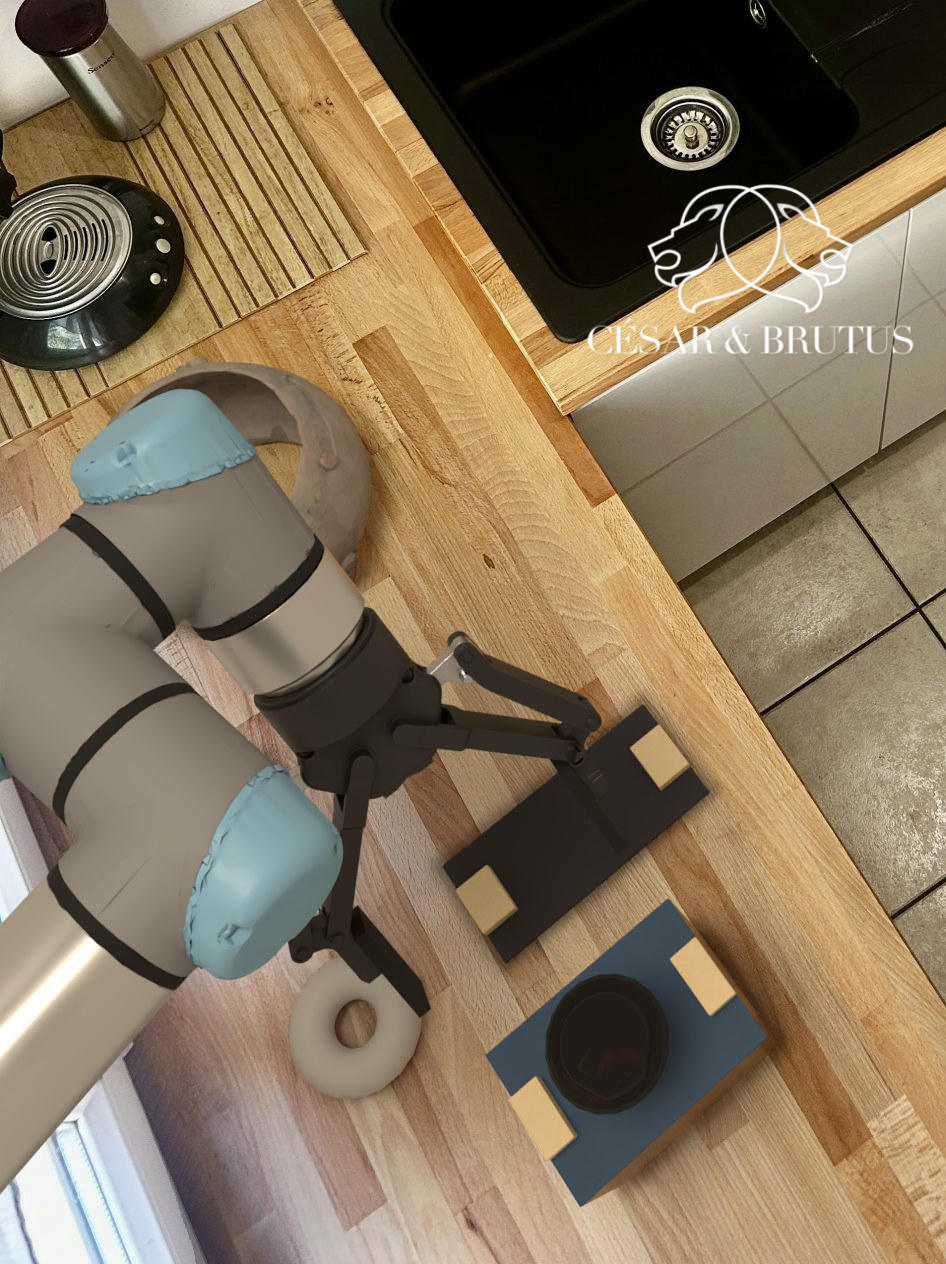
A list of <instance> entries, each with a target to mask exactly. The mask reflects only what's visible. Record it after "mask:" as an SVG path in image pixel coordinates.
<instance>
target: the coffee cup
mask: <svg viewBox="0 0 946 1264" xmlns="http://www.w3.org/2000/svg"><path fill="white" fill-rule="evenodd" d="M668 1053H669V1028H668V1024H667V1021H666V1018H665V1015H664V1011H663V1008H662V1007H661V1005H660V1004H659V1002H658V1001H657V999H656V998H655V996H654V995H653V993H652V992H651V991H650V990H649V989H647V988H646V987H645V986H643V985H642V984H641V983H639V982H638V981H637V980H635V979H632V978H629V977H626V976H623V975H620V974H601V975H596V976H593V977H591V978H588V979H586V980H584V981H581V982H579V983H578V984H577V985H576V986H574V987H573V988H572V989H571V990H570V991H569V992H567V993H566V994H565V995H564V996H563V998H562V999H561V1001H560V1002H559V1004H558V1005H557V1007H556V1008H555V1010H554V1012H553V1013H552V1016H551V1019H550V1022H549V1026H548V1029H547V1032H546V1046H545V1058H546V1061H547V1065H548V1069H549V1073H550V1076H551V1079H552V1080H553V1082H554V1084H555V1085H556V1087H557V1088H558V1090H559V1091H560V1093H561V1095H562V1096H563V1097H564V1098H566V1099H567V1100H568V1101H569V1102H571V1103H572V1104H573V1105H574V1106H576V1107H577V1108H578V1109H582V1110H585V1111H588V1112H591V1113H594V1114H597V1115H598V1114H617V1113H620V1112H622V1111H624V1110H627V1109H629V1108H631V1107H634V1106H636V1105H637V1104H638V1103H639V1102H640V1101H642V1100H643V1099H644V1098H645V1097H646V1096H647V1095H648V1094H649V1093H651V1092H652V1090H653V1089H654V1087H655V1085H656V1084H657V1082H658V1080H659V1079H660V1077H661V1075H662V1074H663V1072H664V1068H665V1064H666V1061H667V1057H668Z"/></svg>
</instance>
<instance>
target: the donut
mask: <svg viewBox="0 0 946 1264" xmlns="http://www.w3.org/2000/svg"><path fill="white" fill-rule="evenodd" d="M355 1000H362V1001H366V1002H367V1003H369V1004H370V1005H371V1007H372V1008H373V1010H374V1012H375V1015H376V1026H375V1028H374V1029H375V1030H374V1032H373V1034H372V1036H371V1037H370V1039H369V1040H368V1041H367V1042H366V1043H365V1044H364V1045H362V1046H360V1047H355V1048H350V1047H347V1046H344V1045H343V1044H342V1043H340V1040H339V1039H338V1037H337V1034H336V1030H335V1029H336V1020H337V1017H338V1014H339V1013H340V1011H341V1010H342V1008H343V1007H344V1006H346V1005H347V1004H348V1003H349V1002H352V1001H355ZM289 1017H290V1018H289V1028H288V1029H289V1030H288V1043H289V1048H290V1053H291V1054H290V1055H291V1058H292V1062H293V1063H294V1065H295V1067H296V1069H297V1070H298V1072H299V1074H300V1076H301V1077H302V1079H303V1080H304V1082H305V1083H307V1084H309V1085H310V1086H311V1087H312V1088H313V1089H315V1090H316V1091H317V1092H318V1093H320V1094H322V1095H325V1096H328V1097H331V1098H335V1099H337V1100H340V1101H341V1100H355V1099H363V1098H366V1097H368V1096H370V1095H373V1094H375V1093H378V1092H379V1091H381V1090H383V1089H385V1088H386V1087H387V1086H388V1085H389V1084H390V1083H392V1082H393V1081H394V1080H395V1079H396V1078H397V1077H398V1076H400V1075H401V1074H402V1072H403V1071H404V1069H405V1068H406V1066H407V1065H408V1063H409V1062H410V1060H411V1058H412V1057H413V1055H414V1054H415V1052H416V1047H417V1044H418V1042H419V1039H420V1036H421V1032H422V1022H423V1021H422V1019H423V1018H422V1017H423V1016H422V1017H421V1018H419V1017H418V1015H417V1014H416V1013H415V1012H414V1011H413V1010H412V1008H411V1007H410V1006H409V1005H408V1004H407V1002H406V1001H405V1000H404V999H403V998H402V997H401V995H400V994H399V993H398V992H397V991H396V990H395V988H394V987H393V986H392V985H391V984H390V982H389V981H388V980H387V979H386V978H385V977H384V975H383V974H381V975H380V976H379V977H377V978H376V979H375V980H374V981H372V982H371V983H370V984H368V983H366V982H363V981H361V980H360V979H359V977H358V976H357V975H356V974H355V973H354V972H353V971H352V969H351V968H350V967H349V966H348V965H347V964H346V962H345V961H344V960H343V959H342V958H341V957H340V956H337V957H335V958H333V959H330V960H328V961H327V962H326V963H325V964H324V965H322V966H321V967H320V968H318V969H317V970H316V971H315V972H314V973H312V974H311V975H310V977H309V979H308V980H307V981H306V983H305V984H304V986H303V987H302V989H300V991H299V993H298V995H297V997H296V1000H295V1002H294V1005H293V1007H292V1010H291V1014H290V1016H289Z"/></svg>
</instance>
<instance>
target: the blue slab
mask: <svg viewBox="0 0 946 1264" xmlns="http://www.w3.org/2000/svg"><path fill="white" fill-rule="evenodd" d="M672 903H673V902H672V900H670V899H669V898H666V899H665V900H664V901H662V903H660V904H659V905H658V906H657V907H656V908H654V909H653V911H651V912H650V913H649V914H648V915H646V917H644V918H643V919H642V920H641V921H640V922H638V923H637V924H635V926H634V927H632V928H631V929H630V930H629V931H628V932H627V933H625V934H624V935H623V936H622V937H620V939H619V940H618V941H616V942H615V943H614V944H612V945H611V947H609V948H608V949H607V950H606V951H604V952H603V953H602V954H601V955H599V956H598V958H596V959H595V960H594V961H593V962H592V963H590V965H587V967H585V969H584V970H582V971H581V972H580V973H579V974H577V976H575V977H574V978H573V979H572V980H571V981H569V982H568V983H567V984H566V985H565V986H563V987H562V989H560V990H559V991H558V992H557V993H555V994H554V995H553V996H551V998H550V999H549V1000H547V1001H546V1002H545V1003H544V1004H543V1005H542V1006H540V1007H539V1008H538V1009H537V1010H535V1012H533V1014H531V1015H530V1016H529V1017H528V1018H526V1019H525V1020H524V1021H523V1022H521V1023H520V1024H519V1025H518V1026H517V1027H515V1029H514V1030H512V1031H511V1032H510V1033H509V1034H507V1036H505V1037H504V1038H503V1039H502V1040H501V1041H500V1042H498V1043H497V1044H496V1045H495V1046H494V1047H492V1048H491V1049H490V1050H489V1051H488V1052H487V1053H485V1058H486V1059H487V1061H488V1062H489V1065H490V1066H491V1067H492V1069H493V1070H494V1072H495V1074H496V1075H497V1077H498V1079H499V1081H500V1082H501V1083H502V1085H503V1086H504V1088H505V1090H506V1091H507V1093H508V1094H509V1096H510V1097H509V1098H508V1102H509V1104H510V1105H511V1107H512V1108H513V1110H514V1113H516V1116H517V1117H518V1118H519V1121H520V1122H521V1123H522V1125H523V1127H524V1128H525V1130H526V1132H527V1133H528V1135H529V1136H530V1138H531V1139H532V1141H533V1142H534V1144H535V1146H536V1147H537V1149H538V1150H539V1152H540V1153H541V1155H542V1158H544V1160H545V1161H546V1162H548V1161H550V1162H551V1163H552V1165H553V1166H554V1168H555V1169H556V1171H557V1173H558V1174H559V1176H560V1177H561V1179H562V1181H563V1182H564V1184H565V1185H566V1187H567V1189H568V1190H569V1192H570V1194H571V1195H572V1197H573V1199H574V1200H575V1201H576V1203H577V1205H578V1206H579V1208H582V1207H584V1206H585V1205H584V1204H585V1203H586V1202H587V1201H589V1200H590V1199H591V1198H592V1197H593V1196H594V1195H595V1194H596V1193H597V1192H598V1191H600V1190H601V1189H602V1188H603V1187H604V1186H605V1185H606V1184H607V1183H608V1182H609V1181H611V1180H612V1179H613V1178H614V1177H615V1176H616V1175H617V1174H618V1173H619V1172H620V1171H622V1170H623V1169H624V1168H625V1167H626V1166H627V1165H628V1164H629V1163H630V1162H631V1161H633V1160H634V1159H635V1158H636V1157H637V1156H638V1155H639V1154H640V1153H641V1152H642V1151H644V1150H645V1149H646V1148H647V1147H648V1146H649V1145H650V1144H651V1143H652V1142H653V1141H655V1140H656V1139H657V1138H658V1137H659V1136H660V1135H661V1134H662V1133H663V1132H664V1131H666V1130H667V1129H668V1128H669V1127H670V1126H671V1125H672V1124H673V1123H674V1122H675V1121H677V1120H678V1119H679V1118H680V1117H681V1116H682V1115H683V1114H684V1113H685V1112H686V1111H688V1110H689V1109H690V1108H691V1107H692V1106H693V1105H694V1104H695V1103H696V1102H697V1101H699V1100H700V1099H701V1098H702V1097H703V1096H704V1095H705V1094H706V1093H707V1092H708V1091H710V1090H711V1089H712V1088H713V1087H714V1086H715V1085H716V1084H717V1083H718V1082H719V1081H720V1080H722V1079H723V1078H724V1077H725V1076H726V1075H727V1074H728V1073H729V1072H730V1071H731V1070H733V1069H734V1068H735V1067H736V1066H737V1065H738V1064H739V1063H740V1062H741V1061H742V1060H744V1059H745V1058H746V1057H747V1056H748V1055H749V1054H750V1053H751V1052H752V1051H753V1050H755V1049H756V1048H757V1047H758V1046H759V1045H760V1044H761V1043H762V1042H763V1041H764V1040H766V1039H767V1035H766V1034H765V1032H764V1031H763V1030H762V1028H761V1027H760V1025H759V1024H758V1023H757V1021H756V1020H755V1018H754V1017H753V1016H752V1014H751V1013H750V1011H749V1010H748V1009H747V1007H746V1006H745V1004H744V1003H743V1002H742V1000H741V999H740V997H739V996H738V995H737V993H736V992H735V990H734V989H733V988H732V986H731V985H730V983H729V982H728V981H727V979H726V978H725V976H724V975H723V974H722V972H721V971H720V970H719V968H718V967H717V965H716V964H715V963H714V961H713V960H712V958H711V957H710V956H709V954H708V953H707V951H706V950H705V949H704V947H703V946H702V944H701V943H700V942H699V940H698V939H697V937H696V936H695V935H694V933H693V932H692V930H691V929H690V928H689V926H688V925H687V923H686V922H685V921H684V919H683V918H682V916H681V915H680V914H679V912H678V911H677V909H676V908H675V907H674V905H675V904H674V903H673V904H674V905H673V904H672ZM601 974H620V975H623V976H626V977H629V978H632V979H635V980H637V981H638V982H639V983H641V984H642V985H643V986H645V987H646V988H647V989H649V990H650V991H651V992H652V993H653V995H654V996H655V998H656V999H657V1001H658V1002H659V1004H660V1005H661V1007H662V1008H663V1011H664V1015H665V1018H666V1021H667V1024H668V1028H669V1053H668V1057H667V1061H666V1064H665V1068H664V1072H663V1074H662V1075H661V1077H660V1079H659V1080H658V1082H657V1084H656V1085H655V1087H654V1089H653V1090H652V1092H651V1093H649V1094H648V1095H647V1096H646V1097H645V1098H644V1099H643V1100H642V1101H640V1102H639V1103H638V1104H637V1105H636V1106H634V1107H631V1108H629V1109H627V1110H624V1111H622V1112H620V1113H617V1114H598V1115H597V1114H594V1113H591V1112H588V1111H585V1110H582V1109H578V1108H577V1107H576V1106H574V1105H573V1104H572V1103H571V1102H569V1101H568V1100H567V1099H566V1098H564V1097H563V1096H562V1095H561V1093H560V1091H559V1090H558V1088H557V1087H556V1085H555V1084H554V1082H553V1080H552V1079H551V1076H550V1073H549V1069H548V1065H547V1061H546V1058H545V1046H546V1032H547V1029H548V1026H549V1022H550V1019H551V1016H552V1013H553V1012H554V1010H555V1008H556V1007H557V1005H558V1004H559V1002H560V1001H561V999H562V998H563V996H564V995H565V994H566V993H567V992H569V991H570V990H571V989H572V988H573V987H574V986H576V985H577V984H578V983H579V982H581V981H584V980H586V979H588V978H591V977H593V976H596V975H601ZM583 1205H584V1206H583Z"/></svg>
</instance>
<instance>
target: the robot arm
mask: <svg viewBox="0 0 946 1264" xmlns="http://www.w3.org/2000/svg"><path fill="white" fill-rule="evenodd" d="M106 426H107V425H106ZM106 426H105V427H104V428H103V429H101V430H100V431H99V432H98V433H97V435H96V437H94V439H93V440H91V441H90V442H88V443H86V445H84V446H83V447H82V448H81V449H80V450H79V451H78V453H77V454H76V455H75V457H74V458H73V460H72V462H71V465H70V469H69V476H70V479H71V481H72V483H73V484H74V486H75V487H76V489H77V490H78V497H79V498H80V500H81V501H82V502H83V503H81V504H80V505H79V506H78V507H76V509H74V510H73V511H72V512H71V513H70V515H69V517H68V518H67V519H66V520H65V521H63V522H62V523H61V524H59V526H58V528H57V529H56V530H54V532H52V533H51V534H49V535H48V536H47V537H45V538H44V539H43V540H41V541H40V542H39V543H37V544H36V545H34V546H33V547H31V549H29V550H27V552H25V553H24V554H22V555H21V556H20V557H19V558H17V559H15V561H13V562H12V563H11V564H9V565H8V566H6V567H5V568H4V569H2V570H1V571H0V783H1V782H4V781H5V780H10V779H12V778H13V777H15V778H16V779H17V780H18V781H19V782H20V783H21V784H22V785H23V786H24V787H25V788H26V789H28V791H29V792H31V793H32V794H33V796H35V797H36V798H37V799H38V800H39V801H40V802H41V803H42V804H43V805H44V806H45V807H46V808H48V809H49V810H50V811H51V812H52V813H53V814H54V815H55V816H56V817H57V818H58V819H59V820H60V821H61V822H62V824H63V825H64V826H65V827H66V828H67V829H68V830H69V831H70V832H71V833H72V834H73V835H74V836H75V838H76V839H77V840H76V841H75V842H74V843H73V844H72V845H71V846H70V848H69V849H67V851H66V852H65V853H64V855H63V856H62V857H61V858H60V859H59V860H58V861H57V863H56V864H55V865H54V867H53V868H52V869H51V870H50V871H49V872H48V873H47V874H46V875H45V876H44V877H43V878H42V879H41V880H40V881H39V883H38V884H37V885H36V886H35V887H33V889H32V890H31V891H30V892H29V893H28V894H27V895H26V896H25V897H24V899H22V901H21V902H20V903H19V904H18V905H17V906H16V907H15V908H14V909H13V910H12V911H11V913H9V914H8V916H7V917H6V918H5V919H4V920H3V921H2V922H1V923H0V1195H2V1193H3V1192H4V1191H5V1190H6V1188H7V1187H8V1186H9V1185H10V1184H11V1183H12V1182H13V1180H15V1178H16V1177H17V1176H18V1175H19V1173H20V1172H21V1171H22V1170H23V1169H24V1168H25V1167H26V1166H27V1164H28V1163H29V1162H30V1160H32V1158H33V1157H34V1156H35V1155H36V1154H37V1153H38V1151H39V1150H40V1149H41V1148H42V1147H43V1146H44V1144H45V1143H46V1142H47V1141H48V1140H49V1139H50V1138H51V1136H52V1135H53V1134H54V1133H55V1131H56V1130H57V1129H58V1128H59V1127H60V1126H61V1125H62V1123H63V1122H64V1121H65V1120H66V1119H67V1118H68V1116H69V1115H70V1114H71V1113H72V1112H73V1111H74V1109H76V1107H77V1106H78V1105H79V1104H80V1103H81V1101H82V1100H83V1099H84V1098H85V1097H86V1096H87V1094H88V1093H89V1092H90V1091H91V1090H92V1088H93V1087H94V1086H95V1085H96V1084H97V1083H98V1082H99V1080H100V1079H101V1078H102V1077H103V1076H104V1074H105V1073H106V1072H107V1071H108V1070H109V1069H110V1067H112V1065H113V1064H114V1063H115V1062H116V1060H117V1059H118V1058H119V1057H120V1056H121V1055H122V1054H123V1052H124V1051H125V1050H126V1049H127V1048H128V1047H129V1045H130V1044H131V1043H132V1042H133V1041H134V1040H135V1038H137V1036H138V1035H139V1034H140V1033H141V1032H142V1030H143V1029H144V1028H145V1027H146V1026H147V1025H148V1024H149V1022H150V1021H151V1020H152V1019H153V1017H155V1016H156V1014H157V1013H158V1012H159V1011H160V1010H161V1009H162V1008H163V1006H164V1005H165V1003H167V1002H168V1000H169V999H170V998H171V997H172V995H173V994H174V993H175V992H176V991H177V990H178V989H179V987H180V986H181V985H182V984H183V983H184V982H185V981H186V980H187V978H188V977H189V976H190V975H191V974H192V973H193V972H194V971H195V970H197V968H199V969H200V970H203V969H205V971H207V972H208V973H209V974H210V975H211V976H212V977H214V978H215V979H219V980H224V981H234V980H238V979H242V978H245V977H246V976H248V975H251V974H253V973H254V972H256V971H257V970H259V969H261V968H262V967H264V966H265V965H266V964H268V963H269V962H270V961H271V960H272V959H274V957H276V956H277V954H278V953H279V952H280V950H281V949H282V948H283V947H284V946H285V945H286V944H287V946H288V951H289V956H290V958H291V961H292V962H293V963H295V964H298V965H299V964H305V963H307V962H308V961H310V959H312V957H313V955H314V954H316V953H318V952H320V951H323V950H333V951H335V952H336V953H337V954H338V955H339V957H341V958H342V959H343V960H344V961H345V962H346V964H347V965H348V966H349V967H350V968H351V969H352V971H353V972H354V973H355V974H356V975H357V976H358V977H359V979H360V980H361V981H363V982H366V983H368V984H370V983H371V982H372V981H374V980H375V979H376V978H377V977H379V976H380V975H381V974H383V975H384V977H385V978H386V979H387V980H388V981H389V982H390V984H391V985H392V986H393V987H394V988H395V990H396V991H397V992H398V993H399V994H400V995H401V997H402V998H403V999H404V1000H405V1001H406V1002H407V1004H408V1005H409V1006H410V1007H411V1008H412V1010H413V1011H414V1012H415V1013H416V1014H417V1015H418V1017H419V1018H421V1017H424V1016H425V1015H426V1014H427V1013H428V1012H430V1011H431V1010H432V1007H431V1004H430V1002H429V999H428V998H429V997H428V996H427V993H426V990H425V986H424V984H423V981H422V980H421V979H420V977H419V976H418V975H417V974H416V973H415V971H414V970H413V969H412V968H411V967H410V966H409V964H408V963H407V962H406V960H404V958H403V957H402V956H401V955H400V953H399V952H398V951H397V950H396V948H394V946H393V945H392V944H391V943H390V941H389V940H388V939H387V938H386V937H385V936H384V935H383V933H382V932H381V931H380V929H379V928H378V927H377V926H376V925H375V924H374V923H373V921H372V920H371V918H369V917H368V915H367V914H366V912H365V911H364V910H363V909H362V908H361V907H360V906H359V905H358V904H357V905H356V906H354V903H355V895H356V887H357V882H358V881H357V880H358V873H359V865H360V859H361V858H360V856H361V849H362V843H363V835H364V829H365V828H366V826H367V821H368V813H369V812H368V811H369V804H370V800H375V799H380V798H382V797H383V798H384V799H385V800H386V799H388V798H389V797H391V796H392V795H394V793H396V792H397V791H398V790H399V789H400V788H401V787H402V785H403V784H404V783H405V782H406V780H408V778H410V777H412V776H415V775H416V774H419V773H421V772H423V771H424V770H426V769H427V768H428V767H429V766H430V765H432V764H434V760H433V758H434V757H435V755H436V753H437V751H438V750H443V751H451V752H464V751H465V750H474V751H480V752H490V753H497V754H505V755H513V756H520V757H521V756H522V757H530V758H535V759H536V758H537V759H545V760H549V761H550V763H551V765H552V766H553V767H554V769H555V770H556V773H558V774H559V775H560V777H561V778H562V779H563V781H564V782H565V783H566V785H567V786H568V788H569V789H570V790H571V792H572V793H573V794H574V796H575V797H576V798H577V800H578V801H579V803H580V804H581V805H582V807H583V808H584V809H585V811H586V812H587V813H588V815H589V816H590V817H591V819H592V820H593V822H594V823H595V824H596V826H597V827H598V828H599V830H600V831H601V832H602V834H603V835H604V836H605V838H606V839H607V841H608V842H609V843H610V845H611V846H612V847H613V849H614V850H615V851H616V853H617V854H619V853H621V852H622V851H623V850H624V849H625V848H627V847H628V845H627V843H626V842H625V840H624V839H623V837H622V836H621V834H620V833H619V831H618V830H617V828H616V827H615V825H614V824H613V822H612V821H611V820H610V818H609V817H608V816H607V814H606V813H605V811H604V810H603V809H602V807H601V806H600V805H599V803H598V802H597V801H596V799H598V798H599V797H600V796H601V795H602V794H604V793H605V792H606V791H607V790H609V788H608V783H607V780H606V779H605V777H604V776H603V774H602V773H601V772H600V770H599V769H598V767H597V766H596V765H595V763H594V762H593V760H592V759H591V758H590V756H589V755H588V754H587V752H586V751H585V750H586V741H587V739H588V738H589V736H590V735H591V734H592V733H595V732H597V731H598V730H599V729H600V728H601V726H602V724H603V720H602V717H601V715H600V714H599V712H598V711H597V710H596V708H595V707H594V706H593V705H592V702H590V700H589V699H588V698H587V697H586V696H584V695H582V694H580V693H578V692H576V691H573V690H570V689H568V688H566V687H564V686H562V685H559V684H557V683H554V682H553V681H551V680H547V679H545V678H543V677H541V676H539V675H536V674H534V673H532V672H529V671H528V670H525V669H522V668H520V667H518V666H515V665H513V664H511V663H509V662H507V661H504V660H502V659H500V658H497V657H495V656H492V655H490V654H488V653H485V652H484V650H483V649H481V647H479V646H478V644H477V643H476V642H475V641H474V640H473V639H472V638H471V637H470V635H468V634H467V633H466V632H465V631H463V630H457V631H454V632H452V633H450V634H449V636H448V637H447V640H446V644H447V648H446V649H445V650H444V651H443V652H442V653H440V655H439V656H438V657H436V658H435V659H434V660H433V661H432V662H431V663H430V664H429V665H428V666H424V665H421V664H419V663H417V662H416V661H414V660H413V659H412V658H411V657H410V655H409V654H408V652H407V651H406V650H405V648H404V647H403V646H402V644H401V643H400V642H399V641H398V639H397V638H396V637H395V636H394V634H393V633H392V631H391V630H390V629H389V628H388V626H387V625H386V624H385V622H384V621H383V620H382V618H381V617H380V616H379V615H378V613H377V611H375V609H373V608H372V607H369V606H365V602H366V601H365V600H366V599H365V597H364V595H363V594H362V592H361V591H360V589H359V588H358V587H357V585H356V584H355V583H354V581H353V579H351V577H350V576H348V575H347V574H346V572H345V571H344V570H343V568H342V567H341V566H340V564H339V563H338V562H337V560H336V559H335V558H334V556H333V555H332V554H331V552H330V551H329V550H328V548H327V547H326V546H325V544H323V543H322V542H321V541H320V540H319V538H318V537H317V536H316V535H315V533H314V532H313V531H312V529H310V527H309V526H308V524H307V523H306V522H305V520H304V519H303V518H302V516H301V515H300V513H299V512H298V511H297V509H296V508H295V506H294V505H293V504H292V502H291V501H290V499H289V497H288V495H287V494H286V492H285V491H284V489H282V487H281V485H280V484H279V483H278V481H277V480H276V479H275V477H274V476H273V475H272V473H271V471H270V470H269V469H268V467H267V466H266V465H265V463H264V462H263V461H262V459H261V458H260V456H259V455H258V454H257V451H258V450H257V449H256V447H255V445H252V444H250V443H248V442H247V440H246V439H245V438H244V437H243V436H242V435H241V434H240V432H239V431H238V430H237V429H236V428H235V427H234V425H233V424H232V423H231V422H230V421H229V420H228V419H227V417H226V416H225V415H224V414H223V413H222V412H221V411H220V409H219V408H218V407H217V406H216V405H215V404H214V403H213V402H212V400H211V399H210V398H209V397H207V396H206V395H205V394H203V393H201V392H199V391H196V390H191V389H176V390H172V391H168V392H165V393H163V394H160V395H158V396H156V397H154V398H151V399H149V400H148V401H146V402H144V403H142V404H140V405H138V406H137V407H135V408H133V409H132V410H130V411H129V412H127V413H126V414H124V415H123V416H121V417H119V418H118V419H117V420H115V421H114V422H113V423H111V424H110V425H108V426H107V427H106ZM184 619H185V620H186V621H187V622H188V623H189V624H190V625H191V627H192V628H191V629H192V630H193V631H194V632H195V634H196V635H197V636H198V638H199V639H200V640H201V642H202V643H203V645H205V647H206V648H207V649H208V650H209V651H210V652H211V654H212V655H213V657H214V658H215V659H216V660H217V661H218V662H219V664H220V665H221V666H222V667H223V669H224V670H225V671H226V672H227V674H228V675H229V676H230V677H231V678H232V680H233V681H234V682H235V683H236V684H237V685H238V687H239V689H241V690H242V692H243V693H246V694H247V695H253V704H254V706H255V707H256V709H257V710H258V711H259V712H260V713H261V715H262V716H263V717H264V718H265V719H266V721H267V722H268V723H269V725H270V726H271V727H272V728H273V730H274V731H275V732H276V733H277V734H278V735H279V737H280V738H281V739H282V740H283V741H284V743H285V744H286V745H287V747H288V748H289V749H290V750H291V751H292V752H293V754H294V755H295V757H296V759H297V765H296V766H294V767H293V768H291V769H289V770H288V769H287V768H285V767H284V766H283V765H280V764H275V763H274V762H273V761H272V760H271V759H270V758H269V757H267V755H265V754H264V753H263V752H262V751H261V750H260V749H259V748H258V747H257V746H256V745H254V744H253V743H252V741H250V740H249V738H247V737H246V736H245V735H244V734H243V733H242V732H240V730H238V728H236V727H235V726H234V725H233V724H232V723H231V722H229V721H228V719H226V718H225V717H224V716H223V714H221V713H220V712H219V711H218V710H217V709H215V707H213V706H212V705H211V704H210V703H209V702H208V701H207V700H206V699H205V698H204V697H203V696H202V695H201V694H200V693H198V691H196V690H195V688H194V687H193V686H192V685H191V684H190V683H189V682H188V680H186V679H185V678H184V677H183V676H182V675H181V674H180V673H179V672H178V671H177V670H175V669H174V668H173V667H172V666H171V665H170V664H169V663H168V662H167V661H166V660H165V659H164V658H163V657H162V656H161V655H159V653H158V652H156V650H155V649H156V648H157V647H159V646H160V644H161V643H163V642H164V641H165V640H166V639H168V638H169V637H170V636H171V635H172V634H173V633H174V632H175V631H176V630H177V626H178V625H179V624H180V623H181V622H182V621H183V620H184ZM448 682H449V683H450V682H454V683H455V684H458V685H460V686H469V685H471V684H472V683H473V682H474V683H476V684H477V685H478V686H480V687H482V688H484V689H485V690H487V691H489V692H491V693H493V694H495V695H497V696H499V697H502V698H504V699H507V700H509V701H511V702H513V703H516V704H519V705H521V706H523V707H525V708H528V709H530V710H533V711H534V712H538V713H539V714H542V715H544V716H546V717H549V718H551V719H554V720H557V721H559V722H553V721H547V720H539V719H532V718H525V717H517V716H510V715H503V714H495V713H490V712H489V713H488V712H481V711H475V710H466V709H462V708H461V707H458V706H456V705H454V704H448V703H446V704H445V703H443V702H442V701H443V688H442V687H443V685H444V684H446V683H448ZM308 788H310V789H311V790H314V791H320V792H326V793H330V794H333V797H332V803H333V811H332V820H330V819H329V818H328V817H327V816H326V814H325V813H324V812H323V811H322V810H321V809H320V808H319V807H318V806H317V805H316V804H315V803H314V801H312V800H311V799H310V797H308V795H307V794H305V793H304V792H305V790H307V789H308ZM317 913H318V914H317Z"/></svg>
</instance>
